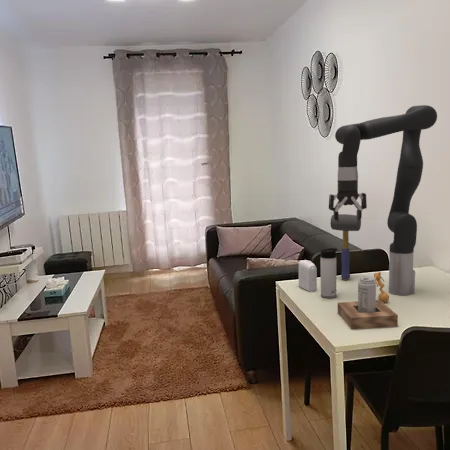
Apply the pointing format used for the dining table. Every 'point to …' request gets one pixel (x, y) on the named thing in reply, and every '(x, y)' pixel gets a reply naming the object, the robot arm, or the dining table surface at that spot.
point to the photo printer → (307, 275)
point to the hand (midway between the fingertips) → (347, 220)
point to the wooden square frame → (367, 316)
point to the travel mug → (328, 273)
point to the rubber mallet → (345, 238)
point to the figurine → (383, 295)
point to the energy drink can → (366, 295)
